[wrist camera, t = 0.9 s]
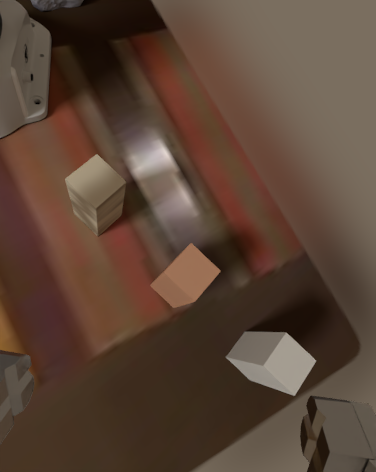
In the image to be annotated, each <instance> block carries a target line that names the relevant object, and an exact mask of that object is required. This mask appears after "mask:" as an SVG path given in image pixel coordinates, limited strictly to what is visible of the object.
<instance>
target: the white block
mask: <svg viewBox="0 0 376 472" xmlns="http://www.w3.org/2000/svg"><path fill="white" fill-rule="evenodd" d="M226 358H227V359H228V360H229V361H230V362H231V363H233V364H234V365H235V366H236V367H237V368H238V369H239V370H240V371H241V372H242V373H243V374H244V375H245V376H246V377H247V378H248V379H249V380H251V381H254V382H257V383H260V384H263V385H265V386H268V387H271V388H274V389H277V390H280V391H282V392H285V393H288V394H291V395H294V396H295V394H296V393H297V391H298V389H299V388H300V386H301V384H302V383H303V381H304V380H305V378H306V376H307V375H308V373H309V372H310V370H311V368H312V367H313V365H314V364H315V362H316V360H315V359H314V358H313V357H312V356H311V355H310V354H309V353H307V352H306V351H305V350H304V349H303V348H302V347H301V346H300V345H299V344H298V343H297V342H296V341H295V340H294V339H293V338H292V337H291V336H290V335H288V334H287V333H286V332H244V334H243V335H242V336H241V338H240V339H239V340H238V342H237V343H236V344H235V346H234V347H233V348H232V350H231V351H230V352H229V354H228V355H227V356H226Z"/></svg>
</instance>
